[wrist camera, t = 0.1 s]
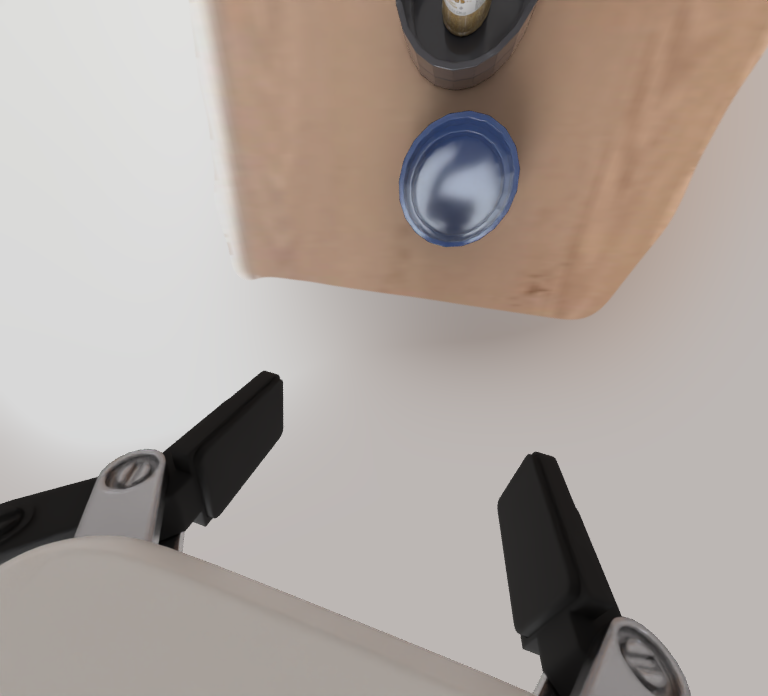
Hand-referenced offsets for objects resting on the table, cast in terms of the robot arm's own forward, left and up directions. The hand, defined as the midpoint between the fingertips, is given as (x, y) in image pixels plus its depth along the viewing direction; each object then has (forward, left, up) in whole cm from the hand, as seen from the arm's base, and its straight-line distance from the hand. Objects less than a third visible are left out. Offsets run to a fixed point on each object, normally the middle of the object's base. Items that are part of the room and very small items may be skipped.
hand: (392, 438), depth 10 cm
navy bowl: (-7, -7, -31) cm, 33 cm away
